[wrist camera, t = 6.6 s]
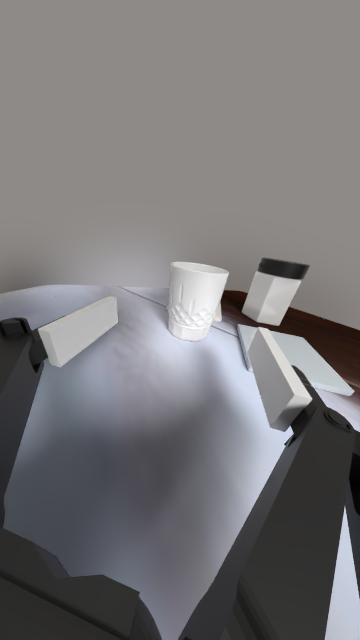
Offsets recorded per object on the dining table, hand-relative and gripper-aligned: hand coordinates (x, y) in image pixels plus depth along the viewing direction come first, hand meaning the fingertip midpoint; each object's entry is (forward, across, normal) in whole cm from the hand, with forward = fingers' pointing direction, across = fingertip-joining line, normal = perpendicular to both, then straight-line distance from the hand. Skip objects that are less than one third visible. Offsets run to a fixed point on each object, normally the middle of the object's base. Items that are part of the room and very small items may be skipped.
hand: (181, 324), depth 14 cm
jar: (+22, +15, -6) cm, 28 cm away
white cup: (+9, 0, -6) cm, 11 cm away
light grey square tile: (+8, +14, -6) cm, 17 cm away
